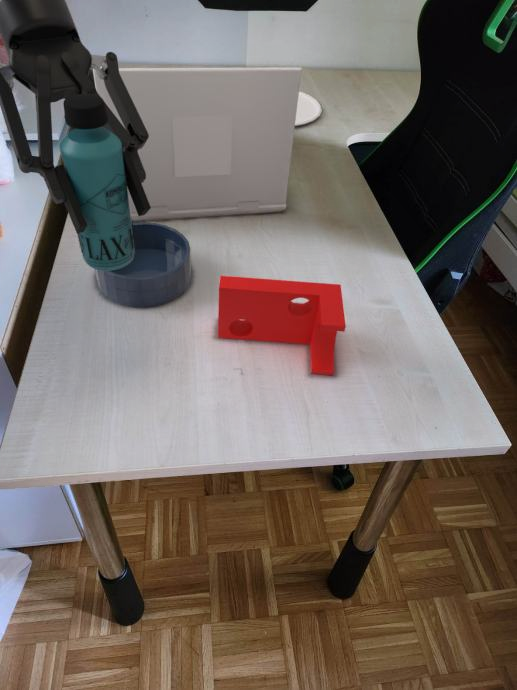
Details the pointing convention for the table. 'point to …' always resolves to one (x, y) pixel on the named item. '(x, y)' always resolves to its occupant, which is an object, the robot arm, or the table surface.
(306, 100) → the plate
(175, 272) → the bowl
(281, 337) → the bracket
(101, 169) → the beverage bottle
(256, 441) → the table surface
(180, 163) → the laptop
